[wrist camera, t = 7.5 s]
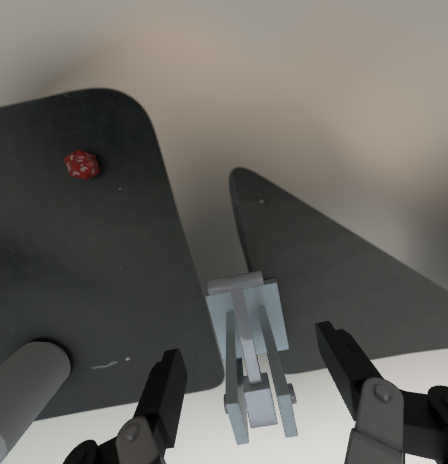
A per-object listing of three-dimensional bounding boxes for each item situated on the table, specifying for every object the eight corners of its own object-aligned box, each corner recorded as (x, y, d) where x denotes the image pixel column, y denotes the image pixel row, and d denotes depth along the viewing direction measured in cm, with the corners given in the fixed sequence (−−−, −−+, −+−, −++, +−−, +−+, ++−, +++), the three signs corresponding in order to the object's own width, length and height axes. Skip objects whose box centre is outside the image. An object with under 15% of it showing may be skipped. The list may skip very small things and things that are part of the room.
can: (22, 374, 33) (-90, 485, 21) (21, 332, 31) (-102, 428, 19) (73, 383, 33) (-9, 497, 22) (76, 342, 31) (-13, 443, 20)
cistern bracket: (206, 291, 29) (190, 381, 17) (274, 278, 28) (312, 360, 16) (223, 353, 31) (221, 471, 19) (286, 342, 31) (327, 456, 18)
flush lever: (209, 279, 22) (204, 283, 19) (259, 269, 21) (261, 271, 19) (235, 410, 20) (233, 431, 18) (289, 401, 20) (295, 421, 18)
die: (73, 154, 25) (53, 152, 22) (99, 149, 25) (82, 146, 22) (82, 181, 25) (64, 182, 23) (108, 176, 25) (92, 177, 22)
